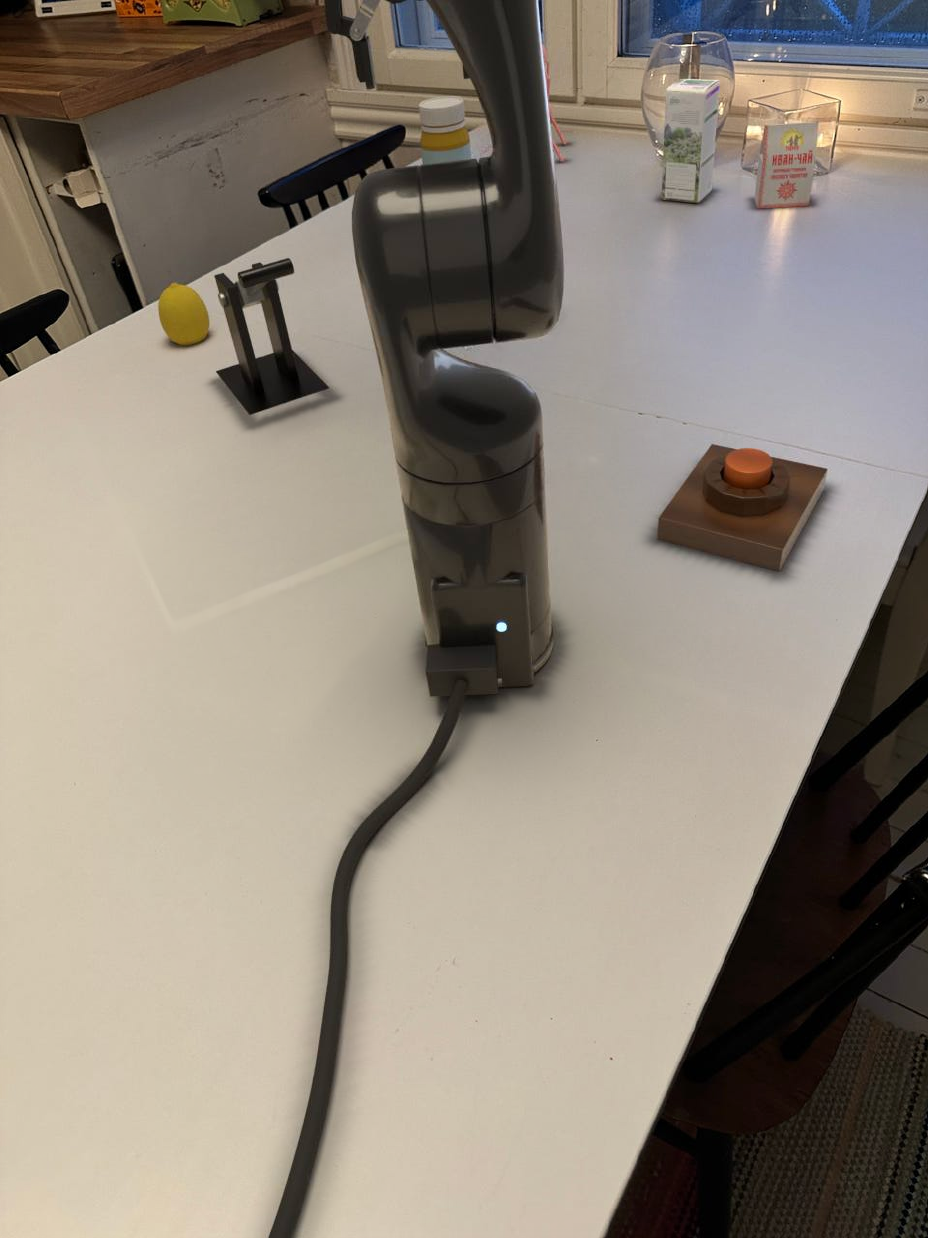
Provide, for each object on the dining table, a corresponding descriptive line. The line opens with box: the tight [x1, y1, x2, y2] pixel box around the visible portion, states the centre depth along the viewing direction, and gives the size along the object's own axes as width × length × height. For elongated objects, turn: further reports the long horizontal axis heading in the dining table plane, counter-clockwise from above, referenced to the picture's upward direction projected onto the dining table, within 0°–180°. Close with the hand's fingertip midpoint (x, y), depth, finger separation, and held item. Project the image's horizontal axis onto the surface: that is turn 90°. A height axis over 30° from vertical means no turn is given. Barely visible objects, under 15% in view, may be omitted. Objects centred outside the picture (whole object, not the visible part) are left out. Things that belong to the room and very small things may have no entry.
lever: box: [233, 257, 295, 310], centre depth 90 cm, size 12×5×2 cm, turn 28°
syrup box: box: [661, 78, 721, 204], centre depth 129 cm, size 6×6×14 cm
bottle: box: [418, 95, 472, 165], centre depth 132 cm, size 7×7×15 cm
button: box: [724, 447, 772, 490], centre depth 74 cm, size 4×4×2 cm
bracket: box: [213, 261, 330, 416], centre depth 97 cm, size 12×9×13 cm
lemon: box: [157, 282, 210, 346], centre depth 109 cm, size 6×6×8 cm
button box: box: [656, 443, 828, 572], centre depth 76 cm, size 12×10×4 cm
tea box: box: [753, 120, 819, 210], centre depth 125 cm, size 4×7×10 cm, turn 84°
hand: (419, 82), depth 81 cm, fingers open, 8 cm apart
